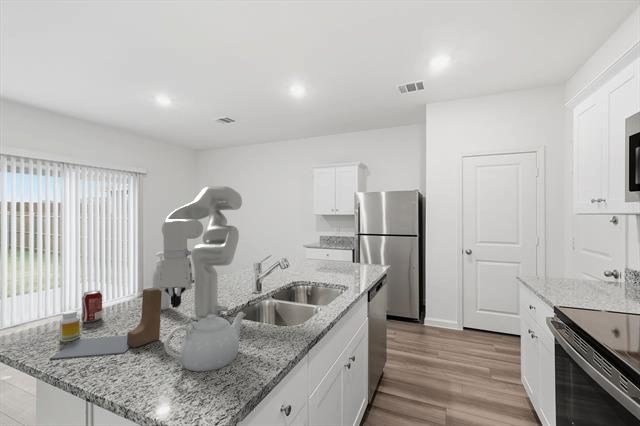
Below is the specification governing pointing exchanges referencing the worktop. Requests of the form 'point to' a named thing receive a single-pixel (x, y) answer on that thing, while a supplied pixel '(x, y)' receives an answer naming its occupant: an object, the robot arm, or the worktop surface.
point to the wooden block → (147, 319)
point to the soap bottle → (165, 296)
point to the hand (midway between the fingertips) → (176, 306)
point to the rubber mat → (94, 347)
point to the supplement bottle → (69, 326)
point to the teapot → (208, 343)
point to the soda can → (91, 306)
